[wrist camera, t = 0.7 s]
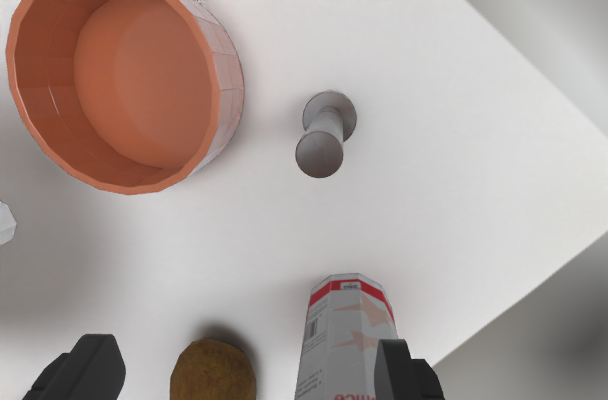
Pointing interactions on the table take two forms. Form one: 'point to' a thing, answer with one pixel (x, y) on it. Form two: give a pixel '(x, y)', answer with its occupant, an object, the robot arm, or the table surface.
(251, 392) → the potato
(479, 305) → the table surface
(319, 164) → the stirrer
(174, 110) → the bowl
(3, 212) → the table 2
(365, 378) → the spray bottle
